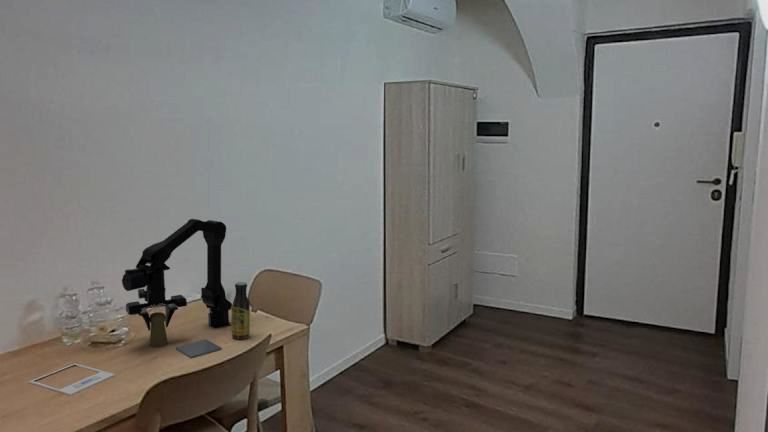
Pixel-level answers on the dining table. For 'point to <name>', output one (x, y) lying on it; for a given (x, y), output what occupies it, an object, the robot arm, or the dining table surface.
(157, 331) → the dark olive bulbous piece
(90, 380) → the photo frame
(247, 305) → the sauce bottle
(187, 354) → the slate coaster
